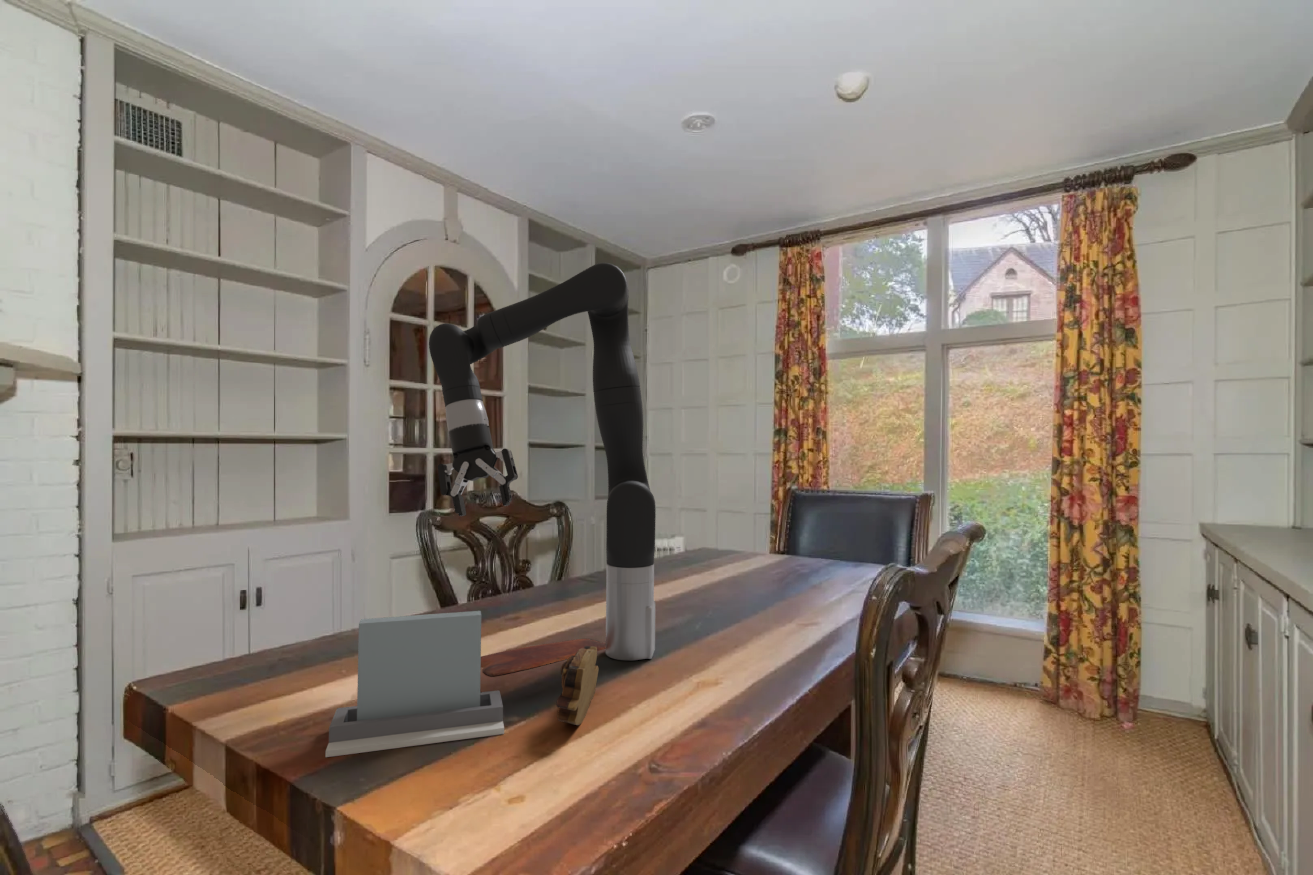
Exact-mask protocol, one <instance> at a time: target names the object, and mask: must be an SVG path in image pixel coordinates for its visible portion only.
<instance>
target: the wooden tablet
mask: <svg viewBox="0 0 1313 875" xmlns="http://www.w3.org/2000/svg"><path fill="white" fill-rule="evenodd" d="M590 639H591V638H578V639H577V638H576V639H570V640H569V639H568V640H562V641H558V642H557V641H556V642H551V643H544V644H543V643H542V644H537V645H536V644H535V645H531V646H525V647H520V648H514V649H508V650H504V651H499V652H495V653H489V654H487V655H486V654H485V655H481V669H482V673H484V674H485V675H486V676H489V677H497V676H502V675H507V674H512V673H517V672H521V671H526V670H530V668H531V669H535V668H538V667H542V666H546V664H547V665H551V664H554V662H555V663H559V662H562V661H566V660H565V659H567V660H568V658H569V657H570V656H574V655H575V654H576V653H577V651H578V650H579V649H581V648H584V647H585V646H594V647H597V652H599V651H604V650H606V645H605V644H606V642H602V643H600V642H601V641H597V640H595V639H592V640H590ZM550 663H551V664H550Z"/></svg>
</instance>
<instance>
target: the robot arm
mask: <svg viewBox="0 0 1313 875" xmlns="http://www.w3.org/2000/svg"><path fill="white" fill-rule="evenodd" d="M629 298H630V297H629V286H628V281H627V278H626V276H625V273H624V272H623V271H622V270H621V268H620V267H619V266H617V265H614V264H613V263H609V262H599V263H596V264H593V265H591V266H590V267H587V268H586V269H584V270H582V271H580V272H579V273H577V274H576V275H573V276H572V277H570V278H569V279H567V280H564V281H563V282H561V283H559V284H557V285H555V286H553V287H551V288H550V289H549V288H548V289H546V290H544V291H543V292H540V293H537V294H535V295H533V296H530V297H529V298H526V299H523V300H519V301H518V302H516V303H512V304H510V305H507V306H503V307H501V308H499V309H495V310H494V311H490V312H487V313H486V314H484V315H481V316H479V318H478V319H477V322H476V323H477V324H475V325H474V326H473V327H470V328H467V329H466V330H462V328H460V327H459V326H457V325H455V324H452V323H440V324H439V325H437V326H436V327H434V328H433V330H432V331H431V333H430V334H429V338H428V349H429V354H430V358H431V361H432V364H433V367H434V368H435V372H436V374H437V377H438V379H439V382H440V385H441V391H442V397H443V402H444V403H443V404H444V407H445V408H444V409H445V420H446V421H445V422H446V426H447V431H448V436H449V441H450V447H451V451H452V452H451V453H452V457H453V460H452V462H451V463H445V464H444V463H439V464H438V465H437V471H438V474H437V475H438V481H439V488H440V489H439V490H440V494H441V496H448V497H451V499H452V504H453V508H454V512H455V513H456V514H458V516H459V517H464V516H466V515H467V511H466V505H465V501H464V500H465V499H464V495H462V494H463V492H464V490H465V488H466V487H467V485H468V484H469V482H470V481H471V482H474V481H478V480H479V479H486V478H489V476H490V477H491V478H493V479H494V480H495V481H497V482H498V483H499V485H500V486H498V487H499V492H500V498H501V502H502V505H503V506H504V507H508V506H510V505H511V502H512V501H513V500H512V499H513V496H512V493H511V488H510V484H511V483H512V482H513V481H515V480H517V479H518V478H519V474H518V471H517V468H516V464H515V460H514V457H513V453H512V450H510V449H508V448H502V450H499V451H495V449H494V445H493V440H492V434H491V429H490V425H489V423H490V422H489V418H488V414H487V410H486V407H485V405H484V401H483V396H482V395H483V394H482V390H481V386H480V385H481V384H480V382H479V379H478V377H477V375H476V374H475V373H474V371H473V369H472V367H471V365H472V364H475V363H477V362H478V361H480V360H482V359H483V358H486V357H487V356H488V355H490V354H491V353H493V352H494V351H496V350H498V349H502V348H504V347H507V346H510V345H512V344H515V343H518V342H520V341H523V340H525V339H528V338H530V337H532V336H535V335H536V334H538V333H540V332H541V331H543V330H544V329H546V328H548V327H549V326H551V325H553V324H555V323H557V322H558V321H561V320H563V319H565V318H568V317H571V316H574V315H577V314H581V313H585V312H587V314H588V319H589V324H590V330H591V333H592V335H591V336H592V338H593V339H592V341H593V358H592V389H593V390H592V391H593V398H594V399H593V400H594V406H595V407H594V408H595V413H596V420H597V425H598V430H599V433H600V436H601V440H602V441H601V442H602V444H603V448H604V451H605V458H606V462H607V463H606V464H607V475H608V476H607V478H608V479H607V481H608V482H607V483H608V484H607V485H608V486H607V488H608V489H607V490H608V491H607V499H606V500H607V501H606V540H605V541H606V542H605V544H606V547H605V548H606V549H605V551H606V552H605V553H606V570H605V572H606V575H605V576H606V580H605V581H606V582H605V583H606V584H605V585H606V586H605V589H606V592H605V597H606V598H605V643H606V644H605V645H606V649H605V655H606V656H607V657H608V658H611V659H614V660H618V661H638V660H639V661H640V660H645V659H649V660H651V659H652V658H653V656H654V653H655V650H656V600H655V554H656V553H655V551H656V550H655V549H656V518H657V517H656V515H657V514H656V511H657V510H656V501H655V497H654V494H653V493H652V490H651V488H650V485H649V481H648V480H649V479H648V476H647V472H646V471H647V470H646V466H645V461H644V450H643V447H644V445H643V444H644V442H643V441H644V410H643V399H642V394H641V393H642V390H641V384H640V379H639V373H638V369H637V368H638V367H637V364H636V360H635V356H634V353H633V349H632V344H631V339H630V328H629V327H630V326H629ZM498 458H499V461H501V462H503V463H504V466H505V467H504V468H505V470H506V474H507V475H506V476H505V475H504V474H502V472H501V471H500V470H499V469H498V468H497V467H496V466H495V465H496V464H497V461H498ZM453 470H455V471H456V472H457V473H458V474H457V476H456V478H455V480H454V485H453V486H452V482H451V475H453V474H452V473H453Z"/></svg>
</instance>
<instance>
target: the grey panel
mask: <svg viewBox="0 0 1313 875" xmlns="http://www.w3.org/2000/svg"><path fill="white" fill-rule="evenodd" d="M357 642H358V646H357V647H358V649H357V650H358V651H357V653H358V656H357V694H356V695H357V697H356V698H357V699H356V701H357V703H356V706H357V721H361V720H370V719H379V718H387V717H396V716H404V715H413V714H421V713H430V712H438V711H447V710H456V709H464V708H473V707H480V692H481V669H482V668H481V656H482V655H481V654H482V653H481V652H482V611H481V610H472V611H470V610H469V611H460V612H459V611H458V612H457V611H454V612H443V613H431V614H428V613H427V614H415V615H414V614H413V615H402V616H401V615H400V616H388V617H373V618H360V620H359V622H358V641H357Z"/></svg>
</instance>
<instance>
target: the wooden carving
mask: <svg viewBox="0 0 1313 875" xmlns="http://www.w3.org/2000/svg"><path fill="white" fill-rule="evenodd" d="M597 656H598V651H597V647H594V646H585V647H584V648H581V649H579V650H578V651H577V653H576V654H575V655H574V656H570V657H569V658H568V659H567V660H564V661H563V663H562V665H561V668H560V675H561V688H562V691H561V693H560V694H559V695H558V697H557V699H556V703H555V705H556V707H557V708H558V710H557V715H556V717H557V721H559V722H561V723H567V724H571V725H576V726H580V725H582V723H583V722H584V720H585V718H586V715H587V714H588V711H589V707H590V704H591V701H592V700H593V699H594V696H595V693H596V688H597V687H596V686H597V681H598V675H599V669H600V668H599V666H598V665H596V663H597V658H598V657H597Z"/></svg>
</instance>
